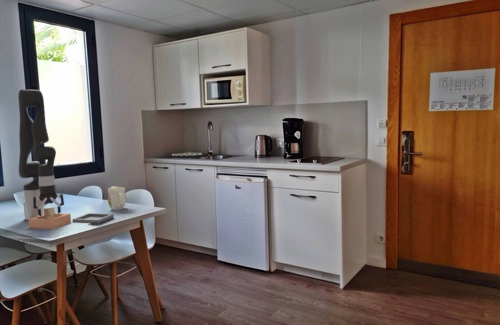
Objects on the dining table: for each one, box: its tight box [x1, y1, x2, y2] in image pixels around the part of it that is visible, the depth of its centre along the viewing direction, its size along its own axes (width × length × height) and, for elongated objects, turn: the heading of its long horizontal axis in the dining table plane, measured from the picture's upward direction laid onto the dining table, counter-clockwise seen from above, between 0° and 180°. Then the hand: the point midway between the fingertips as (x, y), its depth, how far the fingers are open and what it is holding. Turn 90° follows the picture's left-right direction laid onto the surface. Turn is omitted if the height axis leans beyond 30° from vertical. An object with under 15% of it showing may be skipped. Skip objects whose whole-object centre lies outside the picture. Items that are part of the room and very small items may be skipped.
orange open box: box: [27, 212, 72, 230], centre depth 199 cm, size 14×14×6 cm
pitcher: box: [107, 185, 127, 211], centre depth 236 cm, size 11×18×14 cm, turn 36°
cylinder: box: [44, 206, 56, 219], centre depth 199 cm, size 5×5×9 cm
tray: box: [71, 212, 115, 226], centre depth 209 cm, size 16×14×2 cm
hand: (49, 214), depth 198 cm, fingers open, 8 cm apart
